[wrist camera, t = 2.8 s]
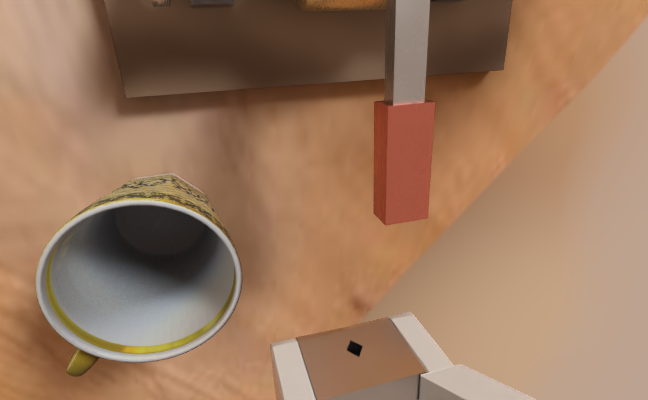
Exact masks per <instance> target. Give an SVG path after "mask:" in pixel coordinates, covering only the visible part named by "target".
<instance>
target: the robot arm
mask: <svg viewBox="0 0 648 400" xmlns="http://www.w3.org/2000/svg"><path fill="white" fill-rule="evenodd" d="M270 351H271V360H272V368H273V377H274V385H275V393H276V399H277V400H536V399H534V398H532V397H530V396H528V395H526V394H523V393H522V392H519V391H517V390H515V389H513V388H511V387H509V386H507V385H505V384H502V383H500V382H498V381H496V380H494V379H492V378H490V377H487V376H485V375H483V374H481V373H479V372H477V371H475V370H473V369H471V368H468V367H466V366H464V365H462V364H458V365H453V364H452V363H451V361H450V360H449V359H448V358H447V356H446V355H445V354H444V352H443V351H442V350H441V349H440V347H439V346H438V345H437V344H436V342H435V341H434V340H433V339H432V337H431V336H430V335H429V334H428V332H427V331H426V330H425V329H424V327H423V326H422V325H421V324H420V322H419V321H418V320H417V319H416V317H415V316H414V315H413V314H412V313H410V312H404V313H401V314H396V315H392V316H389V317H386V318H382V319H378V320H373V321H369V322H365V323H361V324H357V325H352V326H348V327H344V328H340V329H335V330H330V331H325V332H320V333H315V334H310V335H306V336H301V337H296V339H295V338H293V339H288V340H284V341H279V342H274V343H270Z"/></svg>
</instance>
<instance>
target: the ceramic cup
mask: <svg viewBox="0 0 648 400" xmlns="http://www.w3.org/2000/svg"><path fill="white" fill-rule="evenodd" d="M35 281H36V294H37V299H38V302H39V305H40V308H41V310H42V312H43V314H44V316H45V318H46V319H47V321H48V322H49V324H50V325H51V326H52V328H53V329H54V330H55V331H56V332H57V333H58V334H59V335H60V336H61V337H62V338H64V339H65V340H66V341H68V342H69V343H70V344H72V345H74V346H75V347H77V349H76V350H75V352H74V354H73V356H72V358H71V360H70V362H69V364H68V367H67V369H66V372H67V373H68V374H69V375H72V376H81V375H83V374H84V373H85V372H87V371H88V370H89V369H90V368H91V367H92V366H93V365H94V364H95V362H96V361H97V360H98V359H99V357H100V358H104V359H109V360H113V361H120V362H133V363H139V362H152V361H159V360H164V359H168V358H172V357H176V356H178V355H181V354H184V353H186V352H188V351H191V350H193V349H195V348H196V347H198V346H200V345H202V344H203V343H204V342H206V341H207V340H209V339H210V338H212V337H213V336H214V335H215V334H216V333H217V332H218V331H219V330H220V329H221V328H222V327H223V326H224V325H225V324H226V322H227V321H228V320H229V318H230V316H231V315H232V313H233V311H234V310H235V308H236V305H237V303H238V300H239V297H240V293H241V288H242V269H241V263H240V260H239V256H238V254H237V251H236V249H235V246H234V244H233V242H232V239H231V237H230V235H229V233H228V232H227V230H226V228H225V226H224V225H223V223H222V221H221V220H220V219H219V217H218V216H217V215H216V214H215V212H214V210H213V208H212V206H211V204H210V203H209V201H208V200H207V197H206V196H205V194H204V193H203V192H202V191H201V190H200V189H198V188H197V187H195V186H193V185H192V184H190V183H189V182H187V181H186V180H184V179H182V178H181V177H179V176H178V175H176V174H174V173H167V174H160V175H153V176H146V177H139V178H134V179H132V180H130V181H128V182H127V183H126V184H124V185H123V186H121V187H119V188H118V189H116V190H115V191H113V192H112V193H111V194H108V195H106V196H104V197H102V198H100V199H99V200H97V201H95V202H94V203H92V204H91V205H89V206H88V207H86V208H85V209H83V210H82V211H81V212H79V213H78V214H77V215H76V216H75V217H73V218H72V219H71V220H70V221H69V222H67V223H66V224H65V225H64V226H63V227H62V228H61V229H59V230H58V231H57V232H56V234H55V235H54V236H53V237H52V239H51V240H50V241H49V242H48V244H47V246H46V247H45V249H44V251H43V253H42V255H41V257H40V260H39V263H38V266H37V270H36V280H35Z"/></svg>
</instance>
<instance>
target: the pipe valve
mask: <svg viewBox="0 0 648 400" xmlns="http://www.w3.org/2000/svg"><path fill="white" fill-rule="evenodd" d="M458 1H464V0H430V2H458ZM151 2H152V5H153V6H154V7H171V0H151ZM295 2H296V5H297V7H298V9H299V10H300V11H301V12H306V11H342V10H378V9H386V0H295ZM190 3H191V7H192V8H217V7H232V6H233V5H234V0H190Z"/></svg>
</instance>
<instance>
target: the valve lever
mask: <svg viewBox="0 0 648 400" xmlns="http://www.w3.org/2000/svg"><path fill="white" fill-rule="evenodd" d="M429 12H430V0H386V39H385V97H384V101H376V102H374V214H375V215H376V216H377V217H378V218H379V219H380V220H381V221H382V222H383V223H384V224H385V225H391V224H397V223H403V222H409V221H415V220H420V219H426V218H428V207H429V192H430V177H431V162H432V146H433V131H434V116H435V102H434V101H430V100H426V99H425V84H426V66H427V48H428V30H429Z"/></svg>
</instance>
